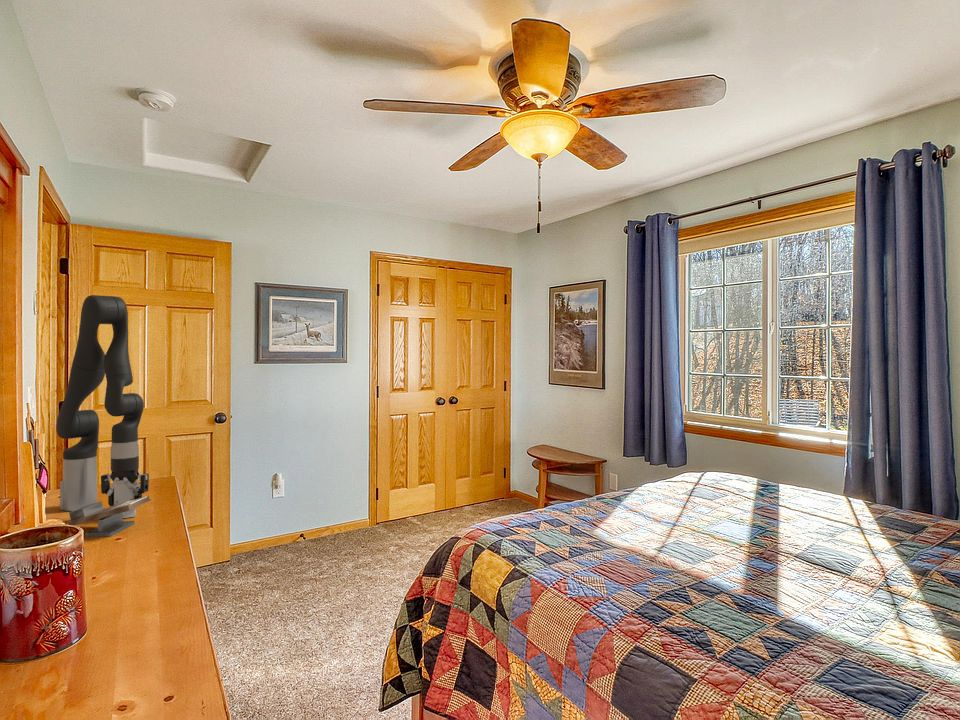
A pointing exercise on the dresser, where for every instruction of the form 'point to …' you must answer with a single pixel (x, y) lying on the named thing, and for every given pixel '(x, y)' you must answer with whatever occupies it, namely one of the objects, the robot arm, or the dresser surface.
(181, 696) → the dresser surface
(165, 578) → the dresser surface
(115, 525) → the fulcrum
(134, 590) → the dresser surface
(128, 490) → the skincare box
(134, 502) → the seesaw beam
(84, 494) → the robot arm
